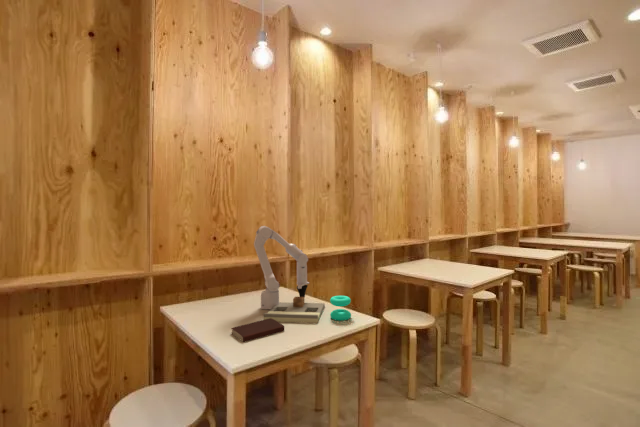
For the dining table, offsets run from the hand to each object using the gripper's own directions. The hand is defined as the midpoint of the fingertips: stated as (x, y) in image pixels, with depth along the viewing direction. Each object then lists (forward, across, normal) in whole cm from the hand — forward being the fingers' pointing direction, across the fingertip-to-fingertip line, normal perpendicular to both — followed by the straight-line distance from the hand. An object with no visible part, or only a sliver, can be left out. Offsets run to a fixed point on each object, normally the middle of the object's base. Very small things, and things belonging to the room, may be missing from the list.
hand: (302, 298), depth 186 cm
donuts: (+3, -22, -23) cm, 32 cm away
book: (+4, -43, +11) cm, 45 cm away
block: (+1, -10, 0) cm, 10 cm away
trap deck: (+3, -17, 0) cm, 17 cm away
